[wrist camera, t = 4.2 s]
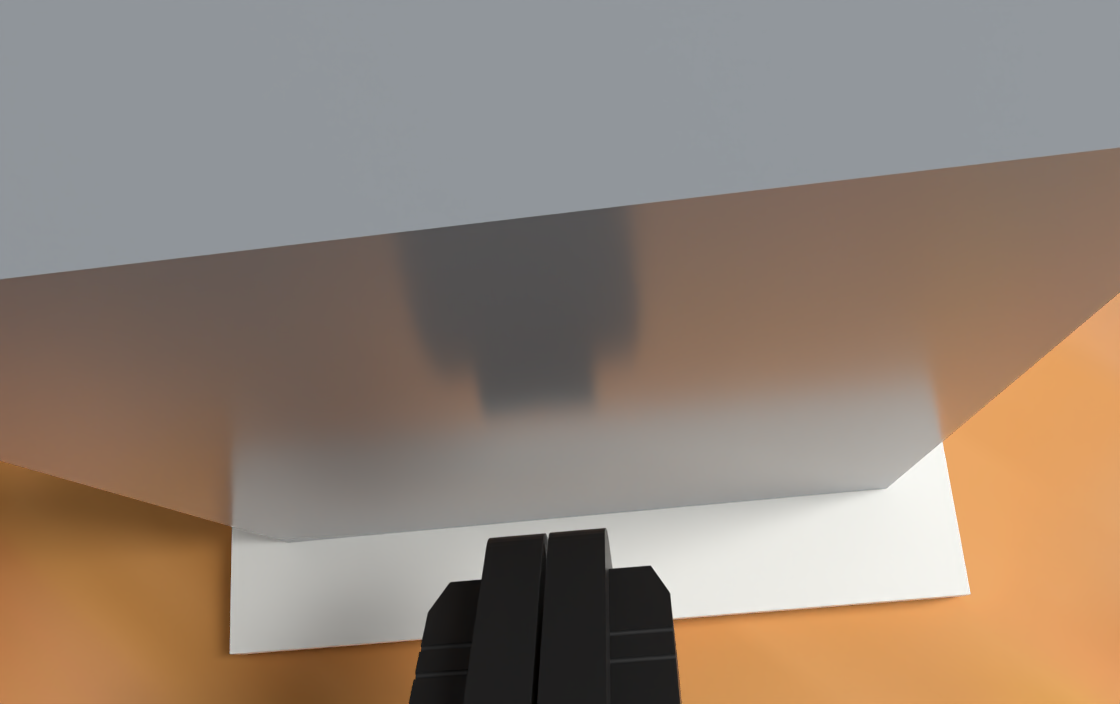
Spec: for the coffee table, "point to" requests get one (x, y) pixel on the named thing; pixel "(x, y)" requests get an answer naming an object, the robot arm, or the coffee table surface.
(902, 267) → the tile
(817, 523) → the mat
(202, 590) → the coffee table surface
